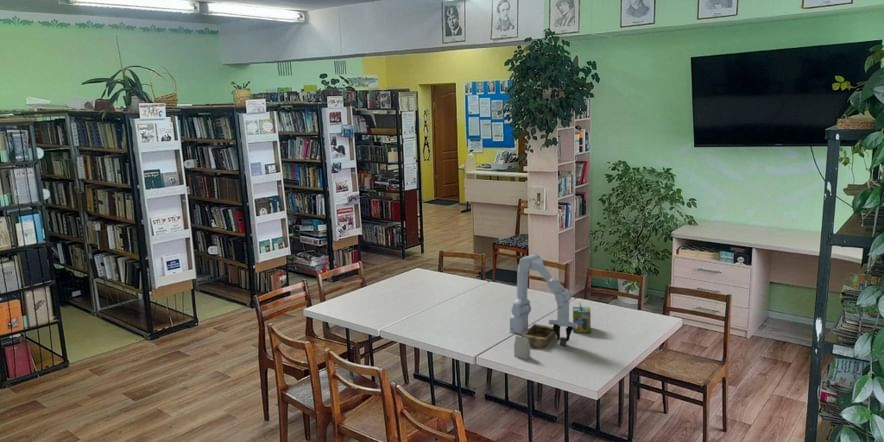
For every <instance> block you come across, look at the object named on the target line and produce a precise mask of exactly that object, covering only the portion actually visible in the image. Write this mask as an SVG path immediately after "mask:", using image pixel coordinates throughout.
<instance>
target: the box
mask: <svg viewBox="0 0 884 442" xmlns="http://www.w3.org/2000/svg"><path fill="white" fill-rule="evenodd" d="M520 335H521V336H520V337H524V338H528V339H529V343H530V348H531V347H532V348H536V349H543V350H544V349H545V348H546V347H547V346H549V344H550V343H551V342H552V341H553V340H554V339H556V338H557V336H556V333H555V331H554V329H553V326H550V325H549V326H548V325H543V324H536V323H534V324H533V325H532V326H530V327H528V330H527V331H526V332H525V333H524V334H520Z"/></svg>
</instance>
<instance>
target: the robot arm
mask: <svg viewBox="0 0 884 442" xmlns="http://www.w3.org/2000/svg"><path fill="white" fill-rule="evenodd" d="M529 271H534V272H538V273H539V275H540V276H541V277H542V278H543V279H544V280H545V281H546V283H547V285H546V286H547V287H548V288H549V290H550V291H551V292H552V294H553V295H554V300H555V302H556V305H557V313H556V314H557V315H556V316H557V319H555V320H554V319H549V320H548V325H549V326H551V325H552V327H553V329H554V331H555V333H556V340H559V341H560V338H561V327H565V332H566V334H565V335H566V337H565V338H566V342H569V340H570V337H571V334H572V332H573V328H575V329H577V328H578V324H576V323H573V321H572V322H571V321H570V301H571V299H572V298H573V297H572V293H571V291H570V290H569V289H566V288H564V286H563V285H562V284H561V283H560V280H559V279H558V278H554V277H553V276H552V274H551V273H550V272H549V270H548V269H547V268H546V266H545V264H544V261H543V259H542V258H541V256H540V254H538V253H532V254H531V255H527V256H523V257H521V258H519V262H518V265H517V275H516V276H517V278H516V280H517V281H516V299H514V301H513V302H512V307H511V316H510V318H509V331H508V332H509V333H513V334H517V335H518V334H519V335H523V334H524V333H525V332H526V331H527V330H528V329H529V316H530V315H529V314H530V312H531V311H532V306H531V301H530V300H529V299H528V288H529V287H528V283H529V282H528V279H529Z"/></svg>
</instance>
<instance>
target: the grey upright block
mask: <svg viewBox="0 0 884 442" xmlns="http://www.w3.org/2000/svg"><path fill="white" fill-rule="evenodd" d="M513 344H514V345H513V346H514V347H513V348H514V349H513V351H514V352H513V353H514V354H513V355H514V357H515V358H518V359H519V358H520V359H522V360H526V361H527V360H528V359H529V358H531V347H530V343H529V339H528V338H524V337H521V336H519V335H516V336H515V340H514V343H513Z"/></svg>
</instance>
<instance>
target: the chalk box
mask: <svg viewBox="0 0 884 442" xmlns="http://www.w3.org/2000/svg"><path fill="white" fill-rule="evenodd" d="M591 317H592V316H591V307H590V306H589V307H587V306H582V304H581V302H579V306H572V323H576V324H578V328H577V329H575V328H573V330H572V332H573V333H588V334H589V333H590V334H591V331H592V330H591V329H592V328H591V323H592V322H591V320H592V319H591Z"/></svg>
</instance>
